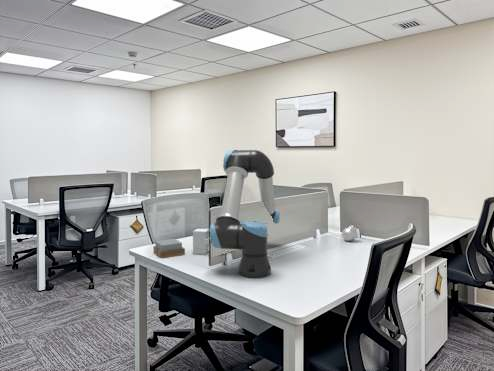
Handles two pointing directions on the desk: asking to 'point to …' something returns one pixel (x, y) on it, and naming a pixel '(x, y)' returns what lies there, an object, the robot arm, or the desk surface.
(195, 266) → the desk surface
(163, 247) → the charcoal top block
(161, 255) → the walnut base block
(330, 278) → the desk surface
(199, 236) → the supplement box
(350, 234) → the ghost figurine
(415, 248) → the desk surface
